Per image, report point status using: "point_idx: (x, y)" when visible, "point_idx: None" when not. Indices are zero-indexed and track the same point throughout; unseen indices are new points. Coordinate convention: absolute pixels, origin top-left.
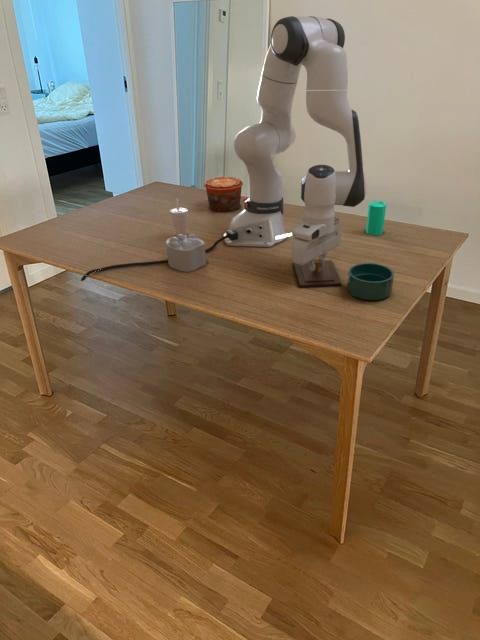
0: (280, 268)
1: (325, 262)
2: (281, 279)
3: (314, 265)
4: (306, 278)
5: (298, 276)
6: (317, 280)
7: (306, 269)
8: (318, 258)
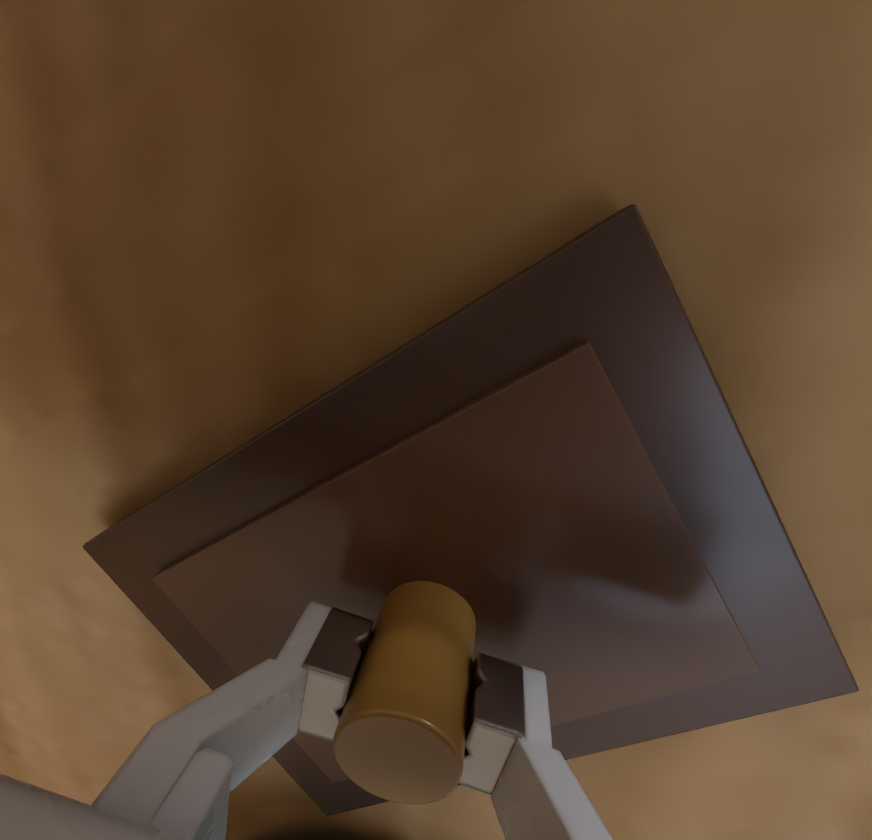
0: (390, 73)
1: (728, 663)
2: (123, 278)
3: (277, 736)
4: (206, 577)
5: (220, 473)
6: (237, 673)
7: (414, 511)
8: (528, 759)
